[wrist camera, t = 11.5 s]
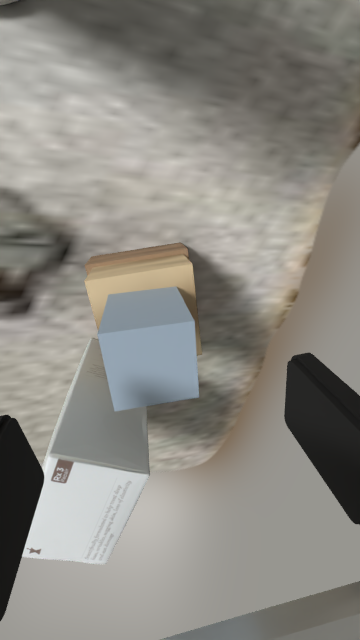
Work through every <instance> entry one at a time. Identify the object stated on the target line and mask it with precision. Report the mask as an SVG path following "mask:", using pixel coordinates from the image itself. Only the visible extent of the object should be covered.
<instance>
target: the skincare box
mask: <svg viewBox="0 0 360 640" xmlns="http://www.w3.org/2000/svg"><path fill="white" fill-rule="evenodd" d="M42 470H43V472H44V484H43V488H42V491H41V494H40V498H39V501H38V504H37V508H36V511H35V514H34V518H33V521H32V524H31V528H30V531H29V534H28V538H27V541H26V544H25V548H24V551H23V554H22V557H29V558H39V559H51V560H66V561H78V562H85V563H91V564H106V563H107V561H108V559H109V557H110V555H111V553H112V551H113V549H114V547H115V545H116V543H117V541H118V539H119V537H120V535H121V533H122V531H123V529H124V527H125V525H126V523H127V521H128V519H129V517H130V515H131V513H132V511H133V509H134V507H135V505H136V503H137V501H138V499H139V497H140V494H141V492H142V490H143V488H144V486H145V484H146V482H147V480H148V478H149V476H150V469H149V450H148V433H147V406H144V407H138V408H132V409H127V410H121V411H114V407H113V402H112V398H111V393H110V389H109V384H108V380H107V375H106V371H105V366H104V362H103V357H102V353H101V348H100V344H99V340H97V339H94V338H91V339H90V341H89V343H88V345H87V347H86V350H85V352H84V354H83V356H82V359H81V361H80V364H79V366H78V369H77V371H76V374H75V376H74V379H73V382H72V384H71V387H70V389H69V392H68V394H67V397H66V400H65V403H64V405H63V408H62V411H61V413H60V416H59V419H58V421H57V424H56V427H55V430H54V433H53V435H52V438H51V441H50V444H49V448H48V451H47V454H46V457H45V460H44V463H43V466H42Z"/></svg>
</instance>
